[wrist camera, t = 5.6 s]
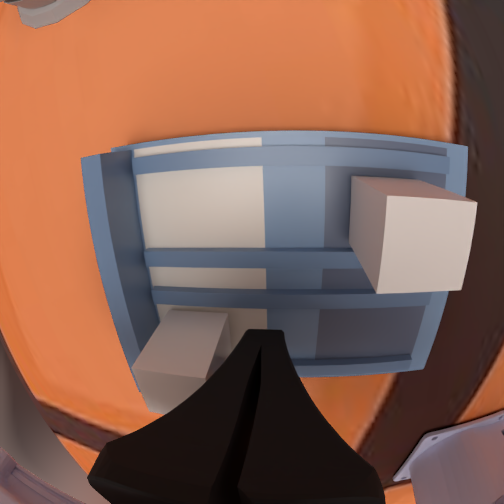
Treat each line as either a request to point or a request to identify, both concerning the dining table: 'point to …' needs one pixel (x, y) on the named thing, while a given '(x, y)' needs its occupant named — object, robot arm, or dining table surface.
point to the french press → (45, 10)
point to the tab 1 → (181, 357)
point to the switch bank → (262, 241)
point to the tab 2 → (410, 234)
